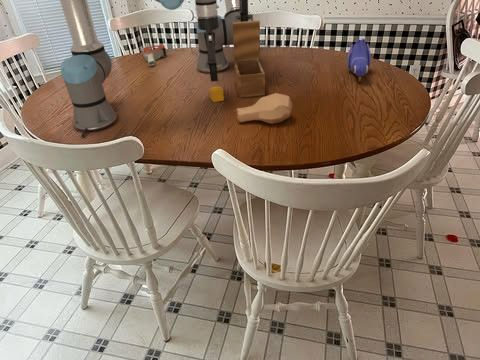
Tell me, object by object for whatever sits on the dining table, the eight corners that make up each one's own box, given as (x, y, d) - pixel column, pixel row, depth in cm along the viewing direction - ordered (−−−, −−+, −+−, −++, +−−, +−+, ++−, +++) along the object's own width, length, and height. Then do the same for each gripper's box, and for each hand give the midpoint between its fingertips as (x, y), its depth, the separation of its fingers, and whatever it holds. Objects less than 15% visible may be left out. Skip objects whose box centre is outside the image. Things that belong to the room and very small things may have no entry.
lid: (259, 21, 139) (256, 10, 144) (232, 23, 139) (230, 12, 144) (258, 59, 153) (255, 48, 158) (234, 61, 153) (232, 50, 158)
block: (224, 100, 144) (223, 89, 141) (213, 102, 143) (212, 91, 140) (221, 96, 147) (220, 85, 145) (210, 98, 146) (209, 87, 144)
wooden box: (265, 95, 146) (264, 73, 140) (239, 97, 145) (238, 76, 140) (259, 80, 159) (258, 60, 154) (235, 82, 159) (234, 62, 153)
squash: (296, 124, 124) (294, 103, 117) (239, 134, 126) (235, 113, 119) (291, 106, 131) (289, 85, 125) (238, 116, 133) (233, 96, 127)
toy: (345, 75, 169) (348, 84, 147) (347, 38, 162) (351, 41, 140) (367, 75, 167) (373, 84, 145) (370, 36, 160) (377, 40, 138)
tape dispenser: (152, 70, 182) (177, 56, 195) (150, 60, 179) (175, 46, 191) (127, 64, 190) (153, 51, 202) (125, 54, 186) (151, 41, 199)
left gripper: (220, 23, 117) (225, 85, 130) (215, 8, 137) (220, 63, 150) (197, 25, 117) (205, 87, 129) (196, 10, 137) (202, 65, 149)
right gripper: (254, -35, 129) (255, 33, 143) (249, -38, 141) (251, 25, 154) (233, -33, 128) (237, 35, 142) (230, -37, 140) (234, 26, 154)
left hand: (213, 74), depth 139 cm, fingers open, 13 cm apart
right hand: (244, 29), depth 148 cm, fingers closed on lid, 2 cm apart
